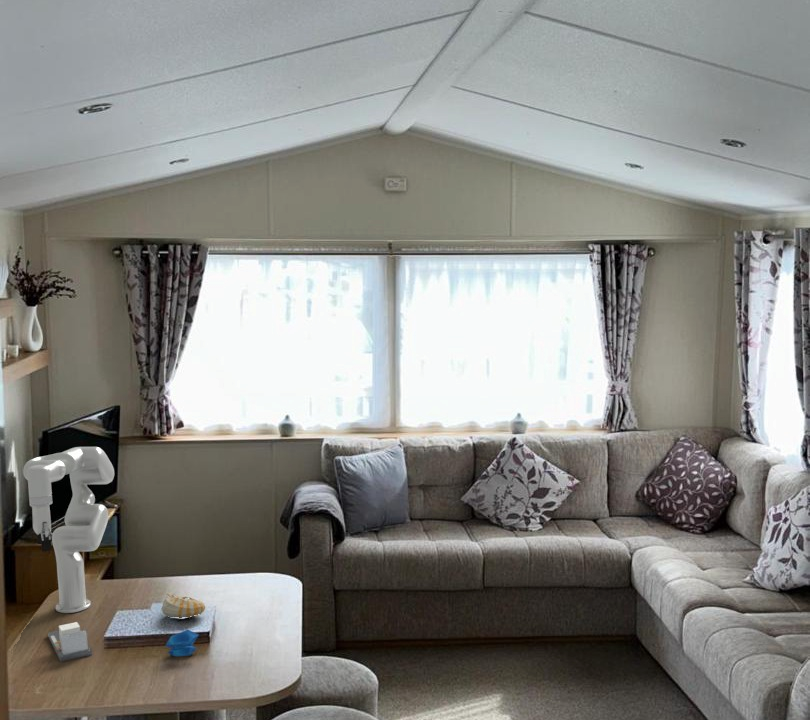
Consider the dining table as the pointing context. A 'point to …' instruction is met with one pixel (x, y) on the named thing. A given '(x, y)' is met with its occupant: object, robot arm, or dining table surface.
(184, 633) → the blue double-lobed piece
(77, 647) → the gauge bench
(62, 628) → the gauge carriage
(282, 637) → the dining table surface
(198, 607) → the nautilus
